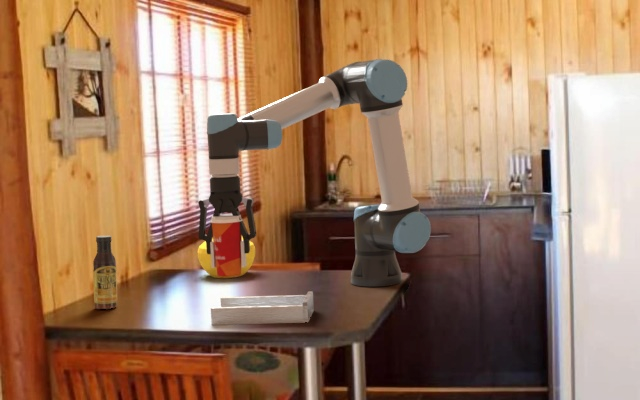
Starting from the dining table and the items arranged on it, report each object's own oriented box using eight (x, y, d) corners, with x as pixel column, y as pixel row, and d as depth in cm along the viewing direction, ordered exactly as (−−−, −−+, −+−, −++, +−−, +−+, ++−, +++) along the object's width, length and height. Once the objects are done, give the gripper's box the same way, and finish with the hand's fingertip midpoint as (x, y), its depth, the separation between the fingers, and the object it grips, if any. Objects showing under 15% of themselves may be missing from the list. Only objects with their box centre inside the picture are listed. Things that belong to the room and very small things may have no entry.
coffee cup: (213, 272, 241) (210, 214, 239) (245, 270, 241) (242, 212, 240) (212, 278, 232) (209, 218, 231) (245, 276, 233) (242, 216, 232)
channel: (313, 310, 243) (312, 291, 242) (308, 322, 230) (307, 302, 229) (222, 312, 245) (221, 293, 245) (211, 324, 232) (210, 304, 231)
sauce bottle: (97, 311, 253) (92, 238, 251) (92, 307, 259) (87, 236, 257) (121, 308, 256) (116, 236, 254) (115, 304, 262) (110, 233, 260)
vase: (225, 268, 313) (222, 211, 311) (268, 272, 302) (265, 213, 300) (186, 278, 298) (183, 218, 296) (230, 282, 287) (227, 220, 285)
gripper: (266, 173, 237) (270, 263, 240) (189, 175, 239) (193, 265, 241) (261, 175, 230) (265, 268, 232) (182, 178, 232) (186, 270, 234)
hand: (229, 266), depth 237 cm, fingers closed on coffee cup, 7 cm apart
